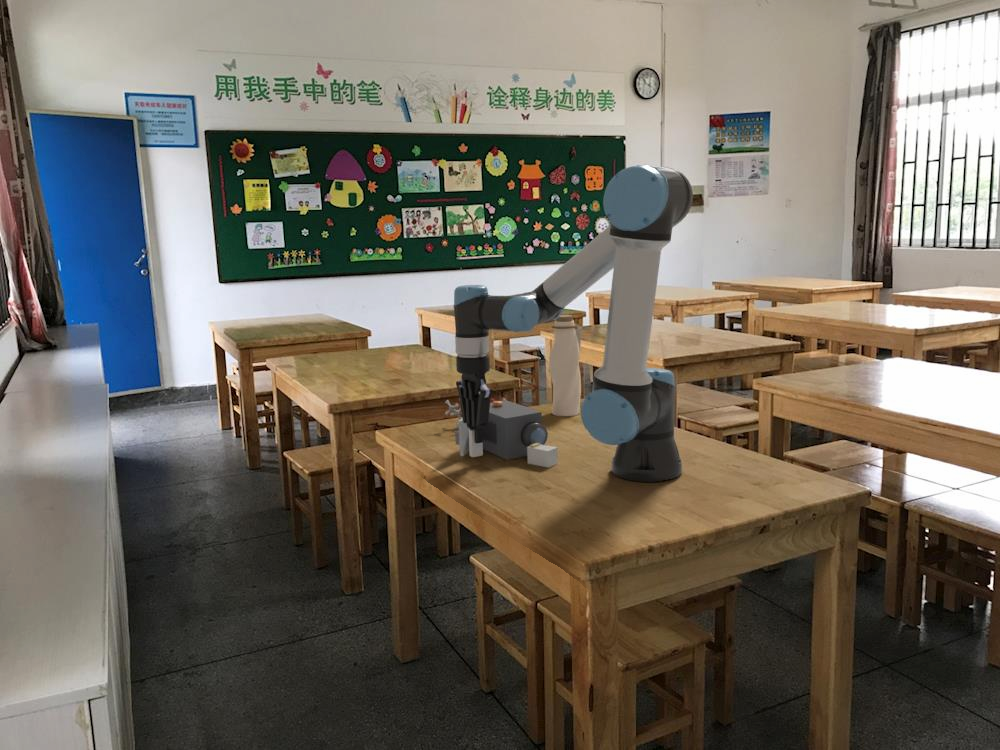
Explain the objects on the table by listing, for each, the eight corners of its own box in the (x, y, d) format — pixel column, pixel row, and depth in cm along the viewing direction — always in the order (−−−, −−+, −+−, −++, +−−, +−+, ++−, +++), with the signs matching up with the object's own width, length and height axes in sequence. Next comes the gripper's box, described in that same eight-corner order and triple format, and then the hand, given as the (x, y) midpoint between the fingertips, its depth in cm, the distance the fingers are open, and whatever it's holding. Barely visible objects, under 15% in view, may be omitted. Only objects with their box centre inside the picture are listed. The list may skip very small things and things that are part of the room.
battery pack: (557, 464, 187) (557, 445, 186) (548, 468, 184) (548, 449, 183) (536, 460, 190) (536, 441, 190) (527, 463, 188) (527, 445, 187)
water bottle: (564, 407, 241) (562, 312, 236) (589, 410, 235) (588, 314, 230) (543, 414, 233) (541, 316, 228) (569, 418, 227) (568, 318, 222)
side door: (464, 456, 191) (462, 421, 190) (455, 455, 192) (454, 420, 190) (477, 442, 202) (476, 409, 201) (469, 442, 203) (468, 409, 201)
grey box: (549, 455, 193) (548, 410, 191) (513, 462, 188) (511, 416, 186) (507, 438, 209) (506, 396, 207) (473, 444, 204) (471, 402, 202)
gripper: (502, 356, 179) (504, 459, 184) (473, 349, 190) (476, 446, 195) (472, 360, 175) (475, 465, 180) (444, 352, 186) (448, 451, 191)
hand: (476, 455), depth 187 cm, fingers closed
